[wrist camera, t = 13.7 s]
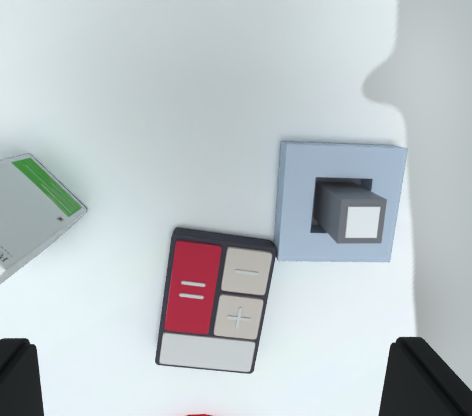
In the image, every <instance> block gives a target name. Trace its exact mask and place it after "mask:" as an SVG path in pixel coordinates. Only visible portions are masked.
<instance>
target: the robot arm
mask: <svg viewBox="0 0 472 416" xmlns="http://www.w3.org/2000/svg"><path fill="white" fill-rule="evenodd" d="M0 416H44V411H43V402H42V393H41V384H40V375H39V366H38V357H37V349H36V346H35V345H34V344H30V342H29V340H28V339H26V338H4V339H1V340H0ZM379 416H472V391H471V390H470V389H469V388H468V387H467V386H466V385H465V383H464V382H463V381H462V380H461V379H460V378H459V377H458V376H457V375H456V374H455V373H454V371H453V370H452V369H450V367H449V366H448V365H447V364H446V363H445V362H444V361H443V360H442V359H441V357H440V356H439V355H438V354H437V353H436V352H435V351H434V350H433V349H432V348H431V347H430V346H429V345H428V343H426V341H425V340H424V339H422V338H421V337H399V338H398V339H397V340H396V343H392V344H391V346H390V351H389V357H388V363H387V369H386V375H385V380H384V386H383V392H382V398H381V404H380V410H379Z"/></svg>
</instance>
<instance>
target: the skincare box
mask: <svg viewBox="0 0 472 416" xmlns="http://www.w3.org/2000/svg"><path fill="white" fill-rule="evenodd" d="M86 212H87V209H86V208H85V207H84V206H83V205H82V204H81V203H80V202H79V201H78V200H77V199H76V198H75V197H74V196H73V195H72V194H71V193H70V192H69V191H68V190H67V189H66V188H65V187H64V186H63V185H62V184H61V183H60V182H59V181H58V180H56V179H55V178H54V177H53V176H52V175H51V174H50V173H49V172H48V171H47V170H46V169H45V168H44V167H43V166H42V165H41V164H40V163H39V162H38V161H37V160H36V159H35V158H34V157H33V156H32V155H30V154H24V155H20V156H16V157H12V158H7V159H3V160H0V284H1V283H3V282H4V281H5V280H6V279H8V278H9V277H10V276H12V275H13V274H14V273H15V272H17V271H18V270H19V269H20V268H22V267H23V266H24V265H26V264H27V263H28V262H29V261H31V260H32V259H33V258H34V257H36V256H37V255H38V254H40V253H41V252H42V251H43V250H45V249H46V248H47V247H49V246H50V245H51V244H52V243H53V242H54V241H56V240H57V239H58V238H59V237H60V236H61V235H62V234H64V233H65V232H66V231H67V230H68V229H69V228H70V227H71V226H72V225H73V224H74V223H75V222H76V221H77V220H78V219H79V218H80V217H82V216H83V215H84V214H85V213H86Z"/></svg>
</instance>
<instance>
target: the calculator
mask: <svg viewBox="0 0 472 416" xmlns="http://www.w3.org/2000/svg"><path fill="white" fill-rule="evenodd" d="M275 257H276V248H275V247H274V245H273V243H272V242H271V241H270V240H264V239H257V238H249V237H242V236H234V235H227V234H220V233H212V232H205V231H198V230H190V229H183V228H176V229H175V230H174V232H173V235H172V238H171V246H170V253H169V261H168V268H167V276H166V283H165V291H164V299H163V306H162V314H161V321H160V329H159V336H158V344H157V351H156V359H155V362H156V364H157V365H164V366H174V367H185V368H195V369H206V370H216V371H227V372H237V373H248V374H250V373H252V372H253V371H254V366H255V361H256V356H257V351H258V345H259V340H260V335H261V330H262V325H263V319H264V314H265V309H266V304H267V298H268V293H269V288H270V283H271V278H272V272H273V267H274V262H275Z"/></svg>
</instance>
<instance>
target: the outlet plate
mask: <svg viewBox="0 0 472 416" xmlns="http://www.w3.org/2000/svg"><path fill="white" fill-rule="evenodd" d="M407 150H408V149H407V148H403V147H398V146H393V145H367V144H339V143H312V142H284V141H281V151H280V165H279V179H278V193H277V207H276V221H275V235H274V247H275V248H276V257H277V259H278V261H330V262H390V258H391V252H392V245H393V239H394V233H395V226H396V220H397V214H398V207H399V201H400V195H401V188H402V182H403V176H404V169H405V163H406V157H407ZM316 182H354V183H356V184H358V185H360V186H362V187H364V188H365V189H367V190H369V191H371V192H373V193H375V194H377V195H379V196H381V197H383V198H385V199H387V204H386V211H385V219H384V227H383V235H382V242H381V243H352V244H337V243H336V242H335V241H334V239H333V238H332V237H331V236H330V235H329V234H328V233H327V232H326V231H325V230H324V229H323V228H322V227H321V226H320V225H319V223H318V222H317V221H316V220H315V219H314V218H313V214H314V201H315V188H316Z"/></svg>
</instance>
